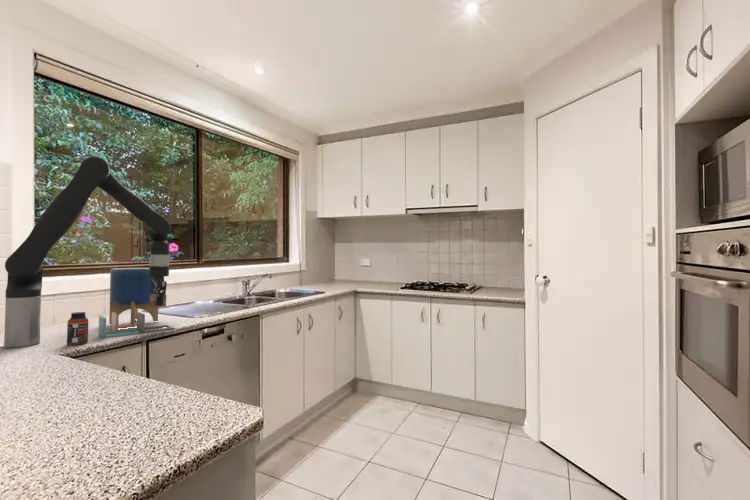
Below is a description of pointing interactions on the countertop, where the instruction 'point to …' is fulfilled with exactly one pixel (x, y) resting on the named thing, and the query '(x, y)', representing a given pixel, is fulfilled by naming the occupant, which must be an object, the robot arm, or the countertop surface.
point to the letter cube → (154, 301)
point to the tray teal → (113, 333)
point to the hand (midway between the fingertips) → (157, 304)
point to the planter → (131, 292)
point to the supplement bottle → (77, 329)
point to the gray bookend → (143, 329)
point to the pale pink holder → (115, 323)
